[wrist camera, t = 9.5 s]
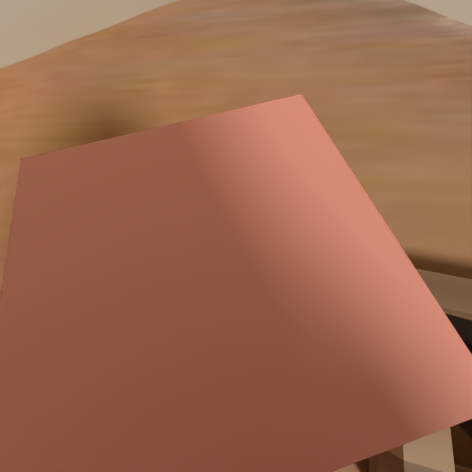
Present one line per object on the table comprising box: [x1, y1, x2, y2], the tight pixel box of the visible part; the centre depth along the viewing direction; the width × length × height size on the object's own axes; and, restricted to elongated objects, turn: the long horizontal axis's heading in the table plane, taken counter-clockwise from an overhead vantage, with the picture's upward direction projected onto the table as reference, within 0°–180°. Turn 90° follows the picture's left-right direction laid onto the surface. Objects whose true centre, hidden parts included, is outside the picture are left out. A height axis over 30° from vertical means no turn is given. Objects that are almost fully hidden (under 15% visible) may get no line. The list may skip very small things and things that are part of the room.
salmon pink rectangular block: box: [0, 94, 472, 472], centre depth 10 cm, size 5×5×14 cm
